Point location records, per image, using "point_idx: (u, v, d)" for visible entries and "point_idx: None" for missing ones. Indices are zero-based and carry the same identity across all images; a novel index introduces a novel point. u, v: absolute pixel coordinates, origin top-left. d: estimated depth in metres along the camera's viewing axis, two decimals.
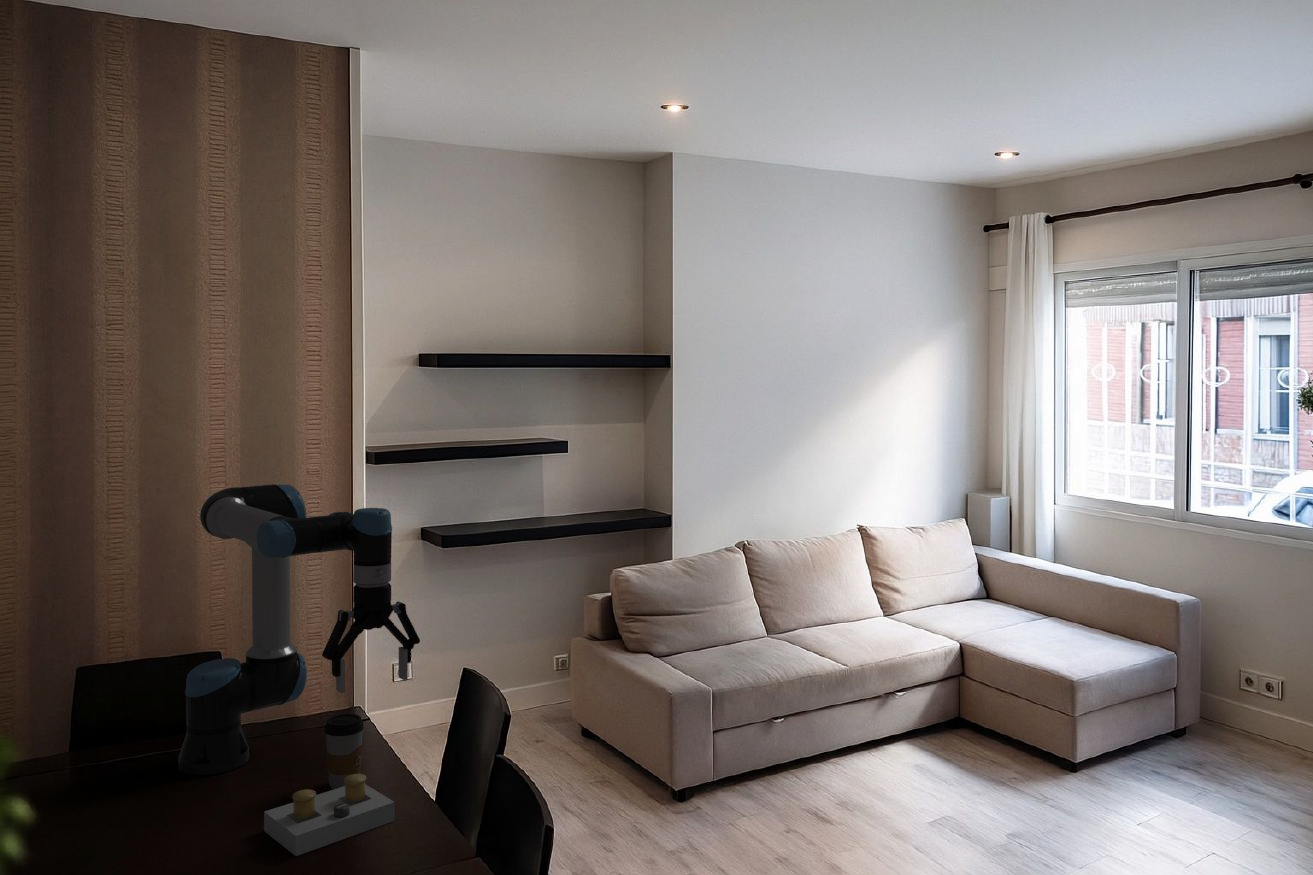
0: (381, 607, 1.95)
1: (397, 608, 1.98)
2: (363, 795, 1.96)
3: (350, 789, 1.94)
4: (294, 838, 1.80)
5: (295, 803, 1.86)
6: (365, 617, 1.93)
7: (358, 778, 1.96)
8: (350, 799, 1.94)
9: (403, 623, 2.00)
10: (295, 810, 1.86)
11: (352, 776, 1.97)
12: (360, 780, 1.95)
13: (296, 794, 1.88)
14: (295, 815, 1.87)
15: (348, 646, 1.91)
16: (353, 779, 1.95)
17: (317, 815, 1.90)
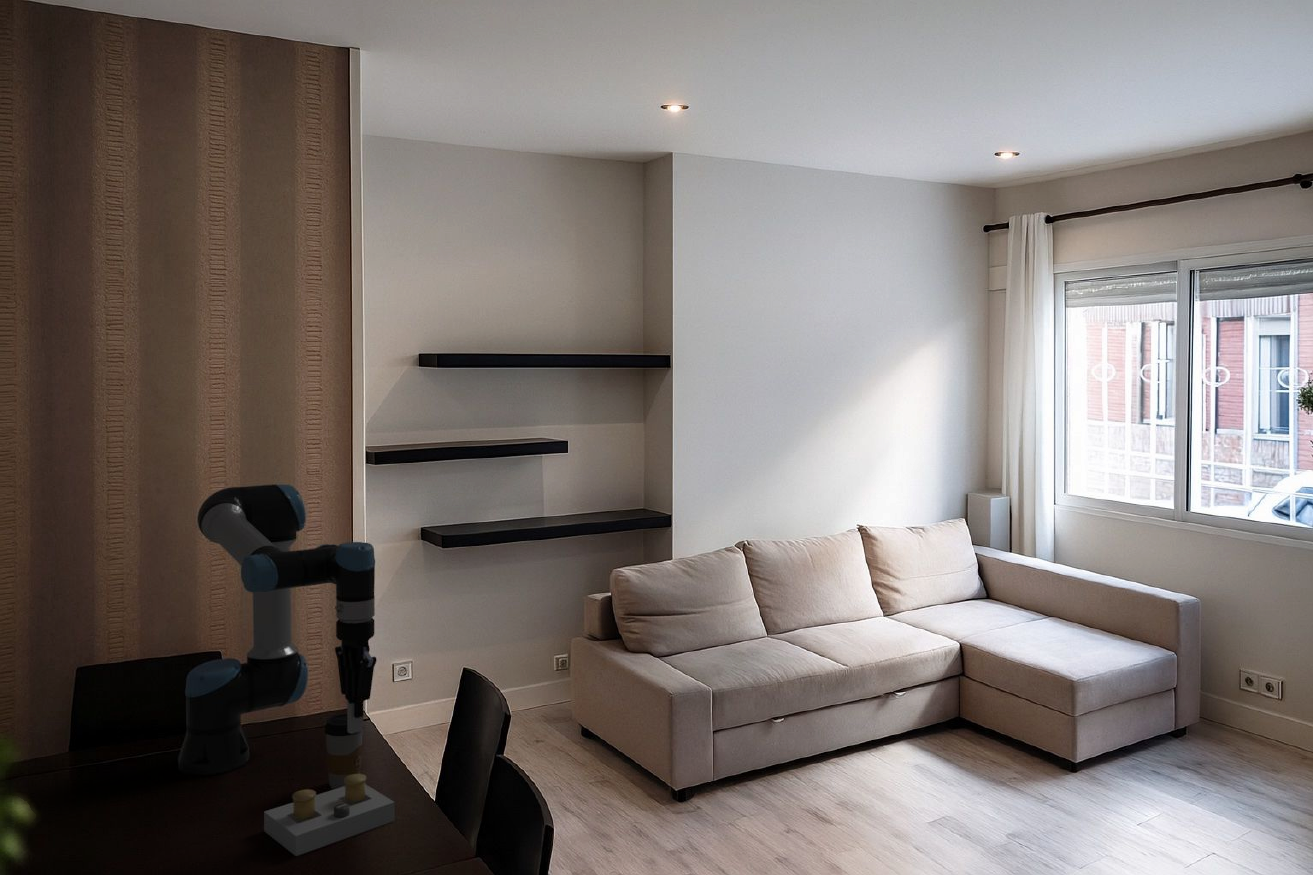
0: (356, 641, 1.92)
1: (365, 659, 1.91)
2: (363, 795, 1.96)
3: (350, 789, 1.94)
4: (294, 838, 1.80)
5: (295, 803, 1.86)
6: None
7: (358, 778, 1.96)
8: (350, 799, 1.94)
9: None
10: (295, 810, 1.86)
11: (352, 776, 1.97)
12: (360, 780, 1.95)
13: (296, 794, 1.88)
14: (295, 815, 1.87)
15: (347, 682, 1.95)
16: (353, 779, 1.95)
17: (317, 815, 1.90)
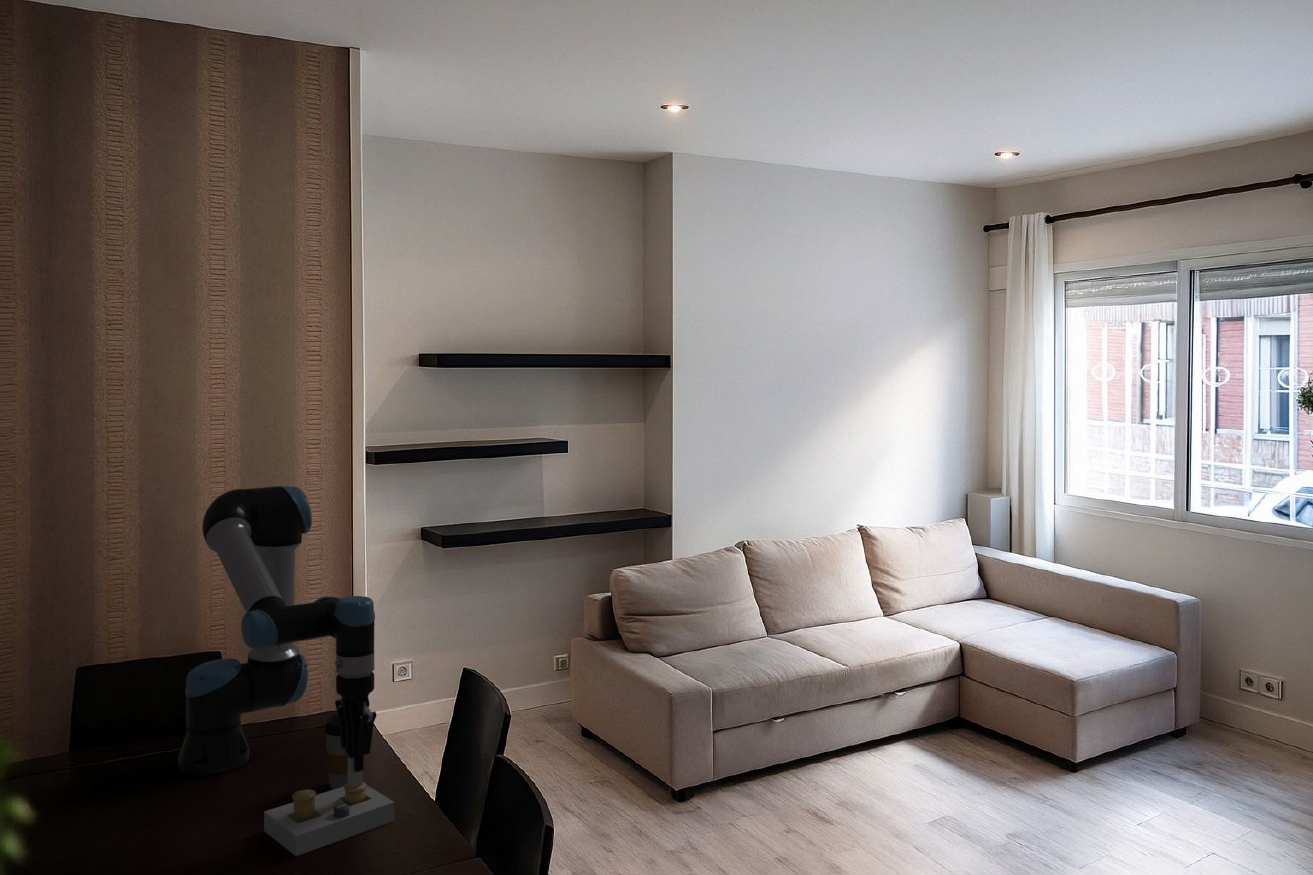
0: (356, 696, 1.92)
1: (365, 714, 1.91)
2: None
3: (350, 796, 1.94)
4: (294, 838, 1.80)
5: (295, 803, 1.86)
6: None
7: None
8: None
9: None
10: (295, 810, 1.86)
11: None
12: (360, 788, 1.95)
13: (296, 794, 1.88)
14: (295, 815, 1.87)
15: (347, 736, 1.95)
16: None
17: (317, 815, 1.90)
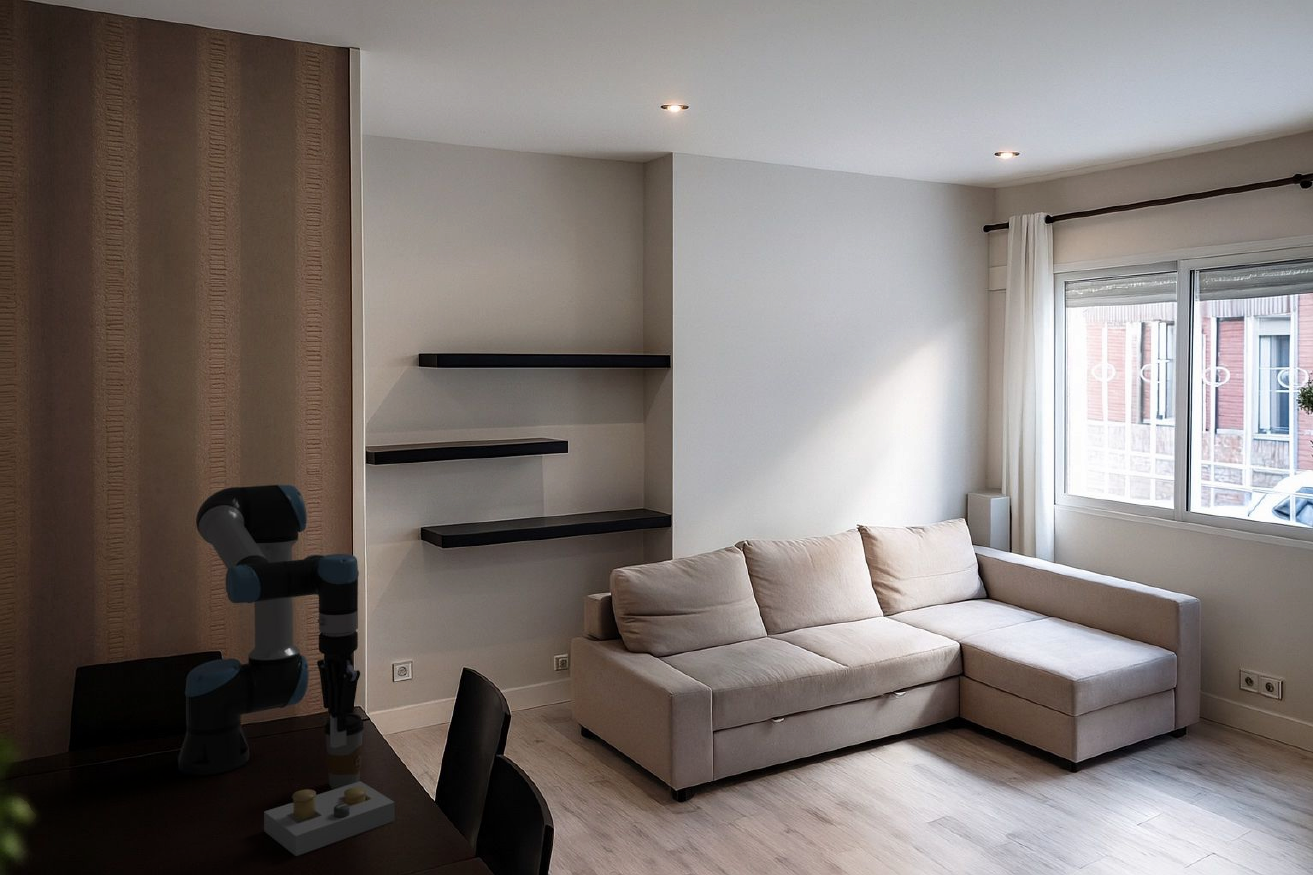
0: (339, 655, 1.89)
1: (348, 672, 1.88)
2: None
3: (350, 802, 1.94)
4: (294, 838, 1.80)
5: (295, 803, 1.86)
6: None
7: (358, 791, 1.96)
8: None
9: None
10: (295, 810, 1.86)
11: (352, 789, 1.97)
12: (360, 793, 1.95)
13: (296, 794, 1.88)
14: (295, 815, 1.87)
15: (330, 696, 1.92)
16: (353, 792, 1.96)
17: (317, 815, 1.90)
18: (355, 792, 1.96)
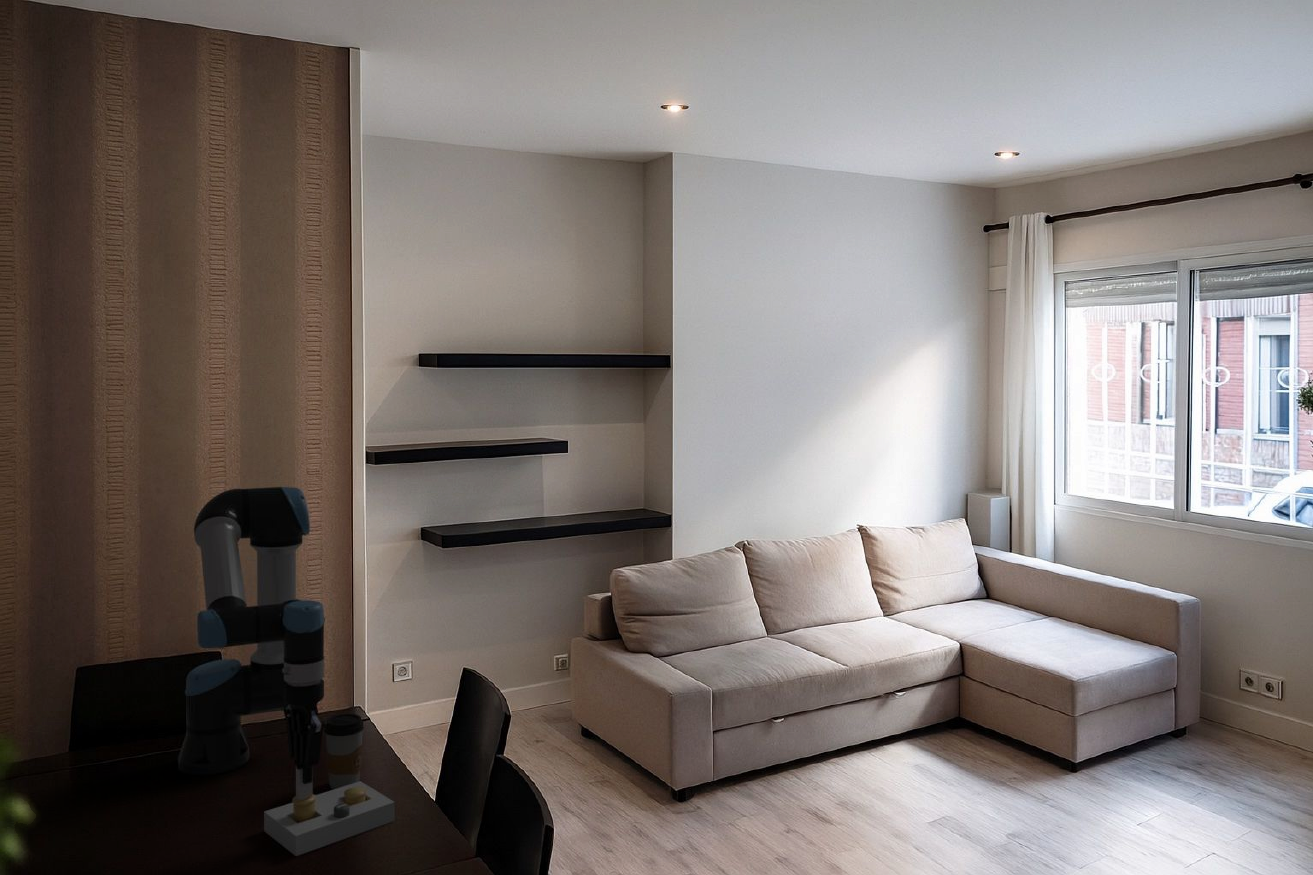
0: (304, 705, 1.84)
1: (313, 723, 1.83)
2: None
3: (350, 802, 1.94)
4: (294, 838, 1.80)
5: (295, 807, 1.86)
6: None
7: (358, 791, 1.96)
8: None
9: None
10: (296, 814, 1.86)
11: (352, 789, 1.97)
12: (360, 793, 1.95)
13: None
14: (295, 819, 1.87)
15: (295, 747, 1.87)
16: (353, 792, 1.96)
17: (317, 815, 1.90)
18: (355, 792, 1.96)
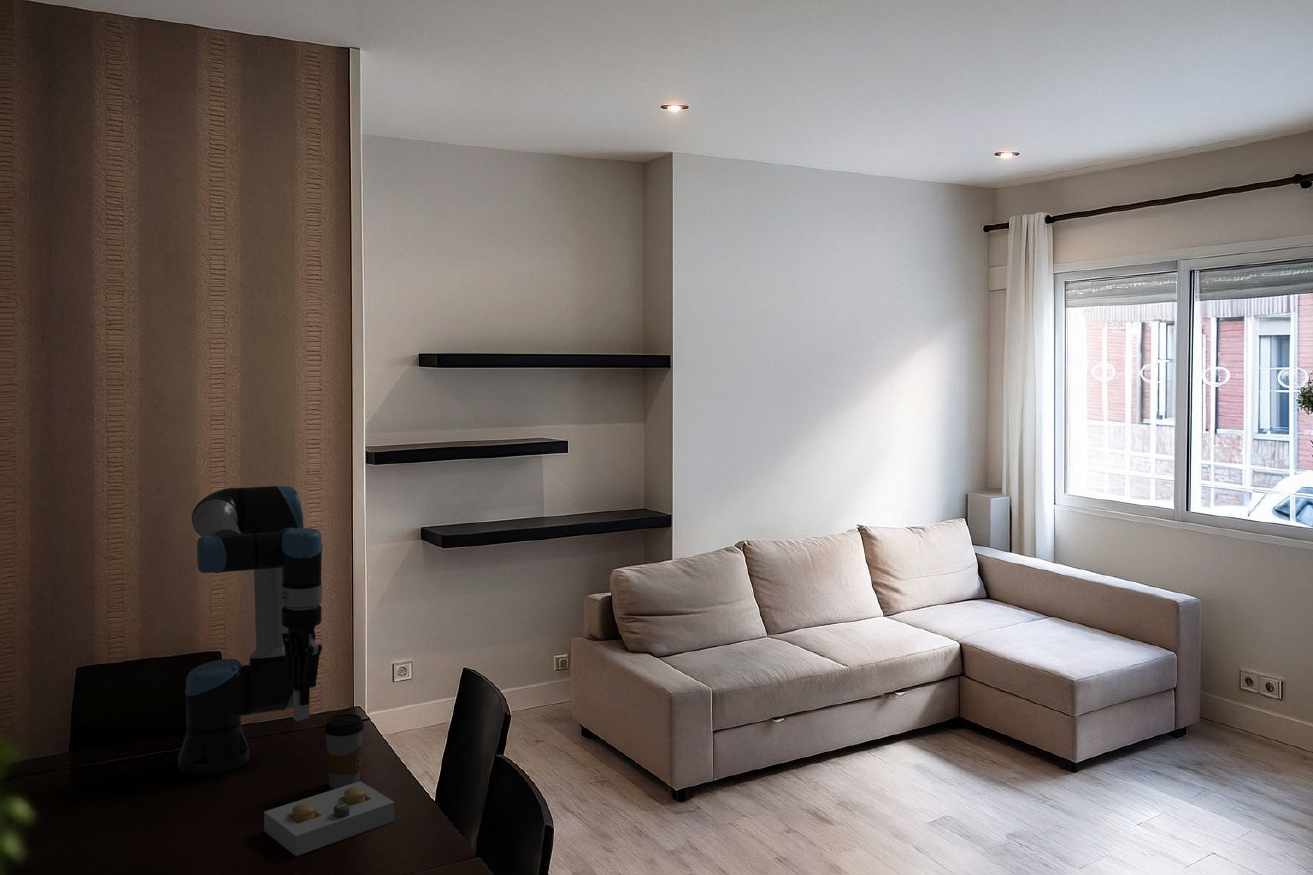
0: (301, 629, 1.89)
1: (310, 646, 1.88)
2: None
3: (350, 802, 1.94)
4: (294, 838, 1.80)
5: (295, 817, 1.87)
6: None
7: (358, 791, 1.96)
8: None
9: None
10: None
11: (352, 789, 1.97)
12: (360, 793, 1.95)
13: (296, 808, 1.88)
14: None
15: (293, 670, 1.92)
16: (353, 792, 1.96)
17: (317, 815, 1.90)
18: (355, 792, 1.96)
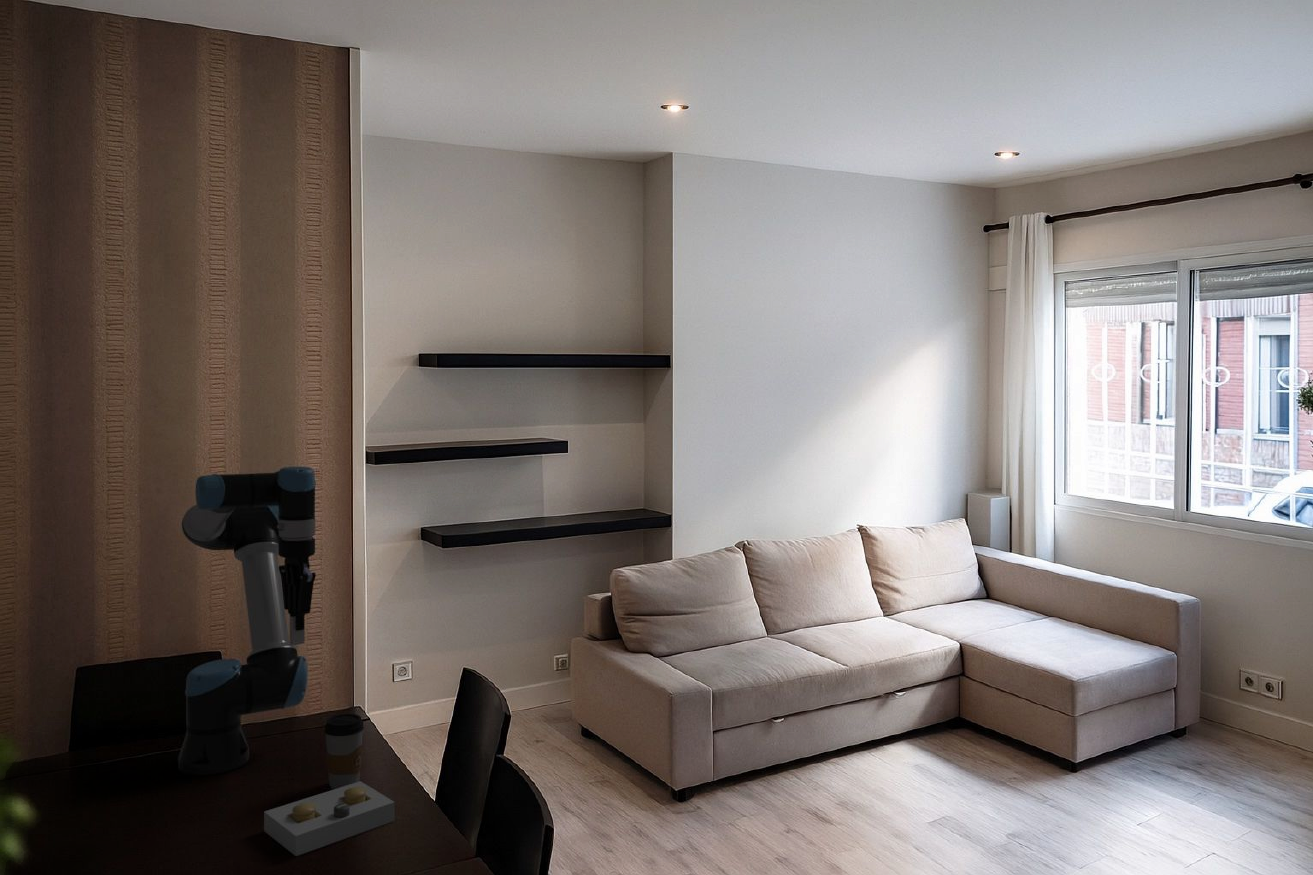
0: (296, 558, 2.05)
1: (304, 574, 2.04)
2: None
3: (350, 802, 1.94)
4: (294, 838, 1.80)
5: (295, 817, 1.87)
6: None
7: (358, 791, 1.96)
8: None
9: None
10: None
11: (352, 789, 1.97)
12: (360, 793, 1.95)
13: (296, 808, 1.88)
14: None
15: (289, 598, 2.07)
16: (353, 792, 1.96)
17: (317, 815, 1.90)
18: (355, 792, 1.96)
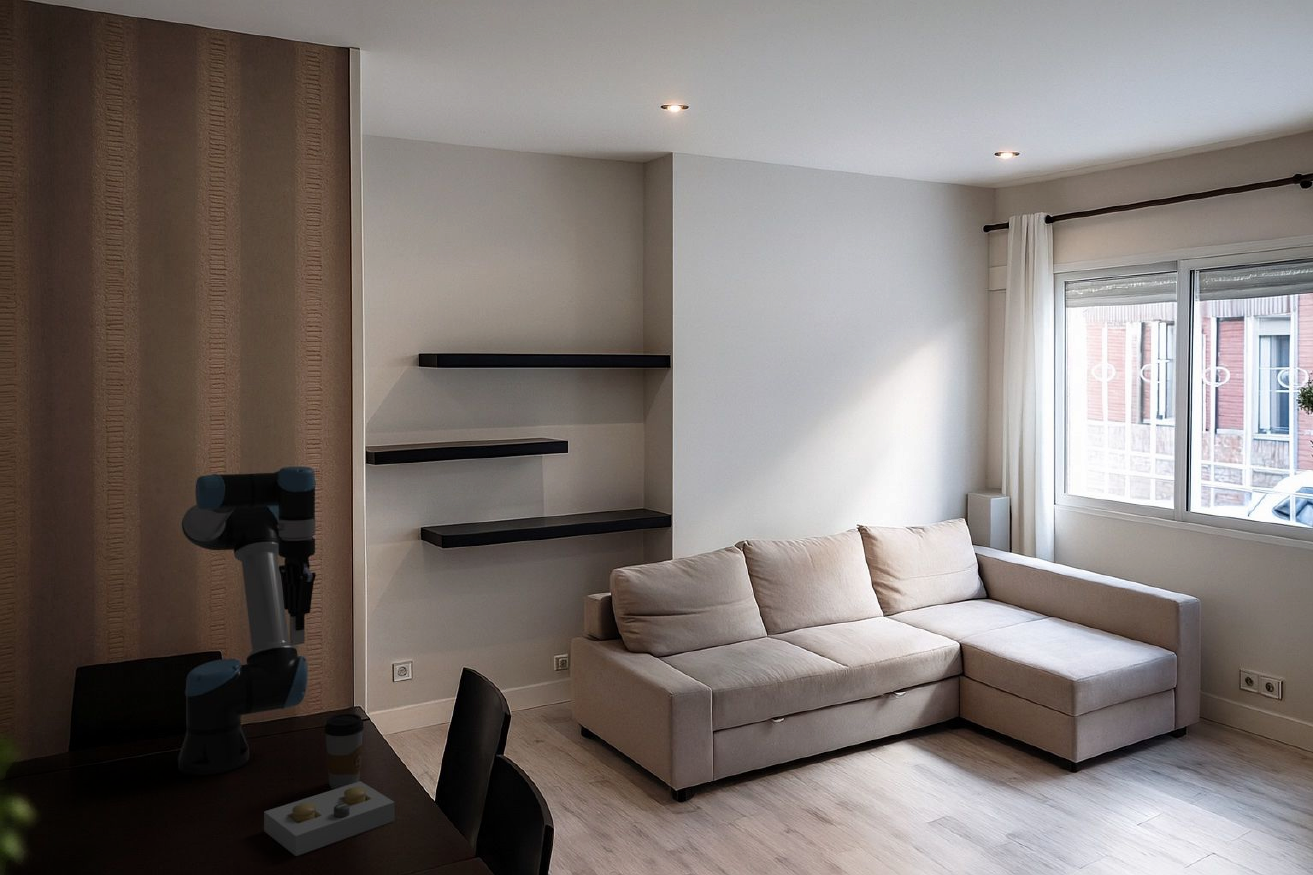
0: (296, 558, 2.05)
1: (304, 574, 2.04)
2: None
3: (350, 802, 1.94)
4: (294, 838, 1.80)
5: (295, 817, 1.87)
6: None
7: (358, 791, 1.96)
8: None
9: None
10: None
11: (352, 789, 1.97)
12: (360, 793, 1.95)
13: (296, 808, 1.88)
14: None
15: (289, 598, 2.08)
16: (353, 792, 1.96)
17: (317, 815, 1.90)
18: (355, 792, 1.96)
